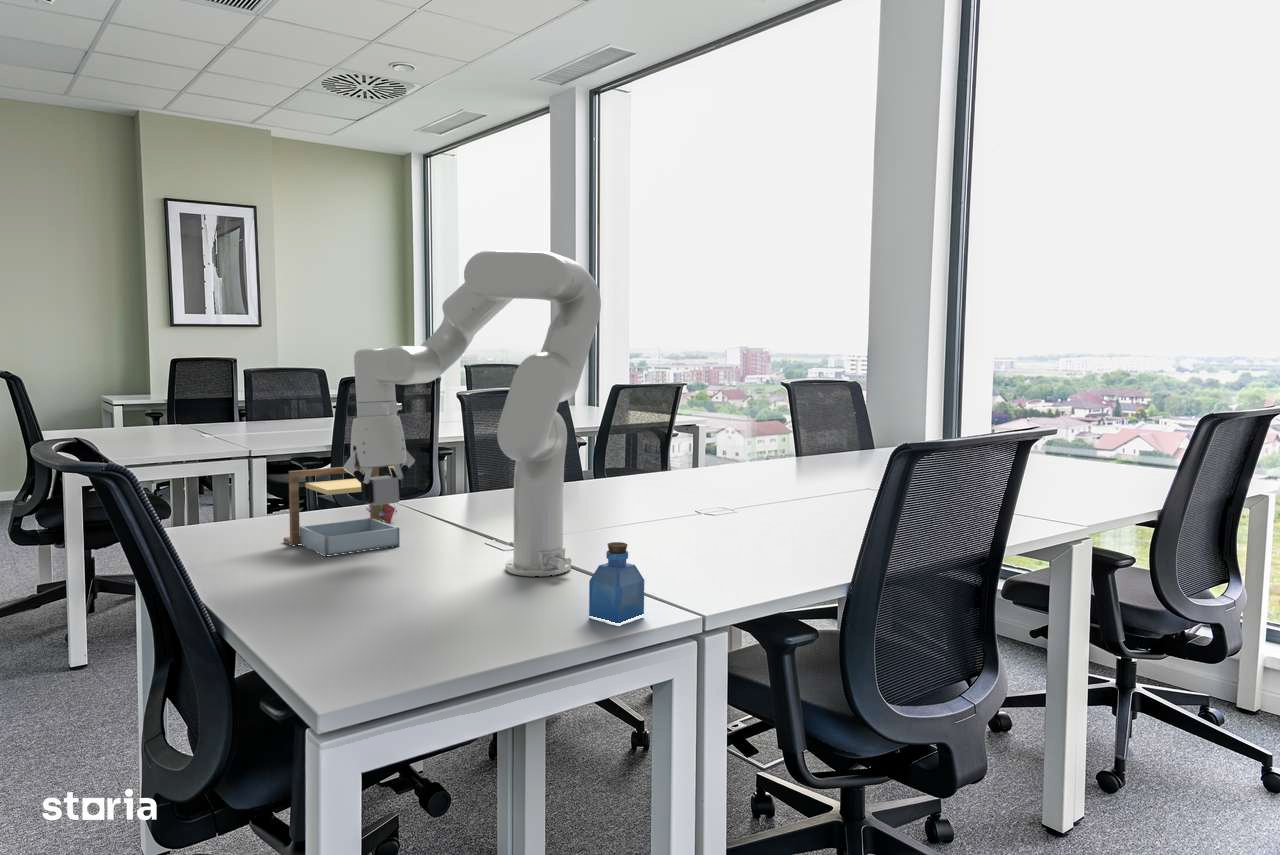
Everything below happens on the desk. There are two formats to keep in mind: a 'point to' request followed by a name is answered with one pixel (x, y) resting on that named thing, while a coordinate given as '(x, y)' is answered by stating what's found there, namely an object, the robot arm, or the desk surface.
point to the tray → (349, 536)
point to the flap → (335, 486)
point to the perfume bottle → (616, 587)
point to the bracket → (295, 485)
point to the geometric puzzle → (385, 512)
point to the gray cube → (385, 490)
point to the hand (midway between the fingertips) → (382, 499)
